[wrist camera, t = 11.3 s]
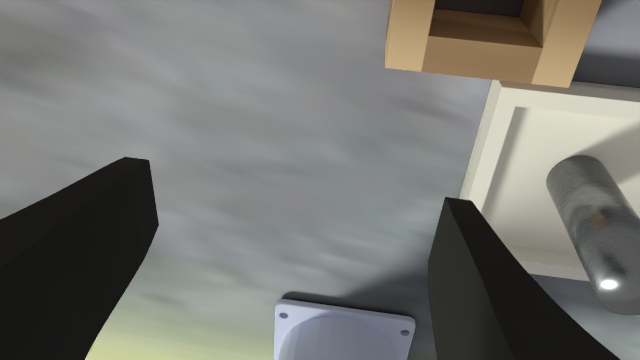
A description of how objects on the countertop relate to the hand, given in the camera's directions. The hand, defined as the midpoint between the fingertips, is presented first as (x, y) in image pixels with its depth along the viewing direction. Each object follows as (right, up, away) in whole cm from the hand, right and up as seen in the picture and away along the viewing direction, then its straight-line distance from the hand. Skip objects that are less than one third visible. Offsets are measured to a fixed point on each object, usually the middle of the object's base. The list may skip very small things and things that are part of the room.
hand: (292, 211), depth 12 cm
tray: (+12, +1, +10) cm, 15 cm away
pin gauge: (+12, +1, +9) cm, 15 cm away
